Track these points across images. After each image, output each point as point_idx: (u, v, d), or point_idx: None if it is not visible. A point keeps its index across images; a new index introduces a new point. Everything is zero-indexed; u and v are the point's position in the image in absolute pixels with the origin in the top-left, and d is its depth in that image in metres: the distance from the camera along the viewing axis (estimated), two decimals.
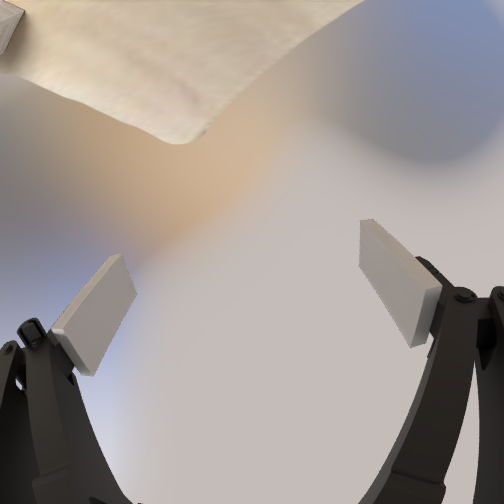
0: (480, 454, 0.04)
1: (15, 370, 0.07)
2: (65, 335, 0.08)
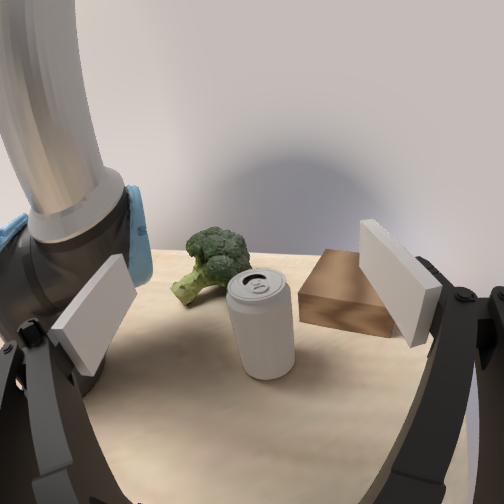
0: (480, 454, 0.04)
1: (15, 370, 0.07)
2: (65, 335, 0.08)
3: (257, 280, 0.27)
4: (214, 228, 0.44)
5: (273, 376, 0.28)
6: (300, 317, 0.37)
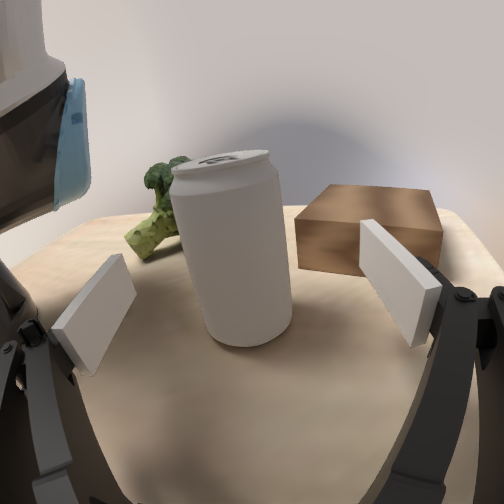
0: (480, 454, 0.04)
1: (15, 370, 0.07)
2: (65, 335, 0.08)
3: (222, 158, 0.15)
4: (181, 157, 0.32)
5: (255, 339, 0.17)
6: (299, 261, 0.26)
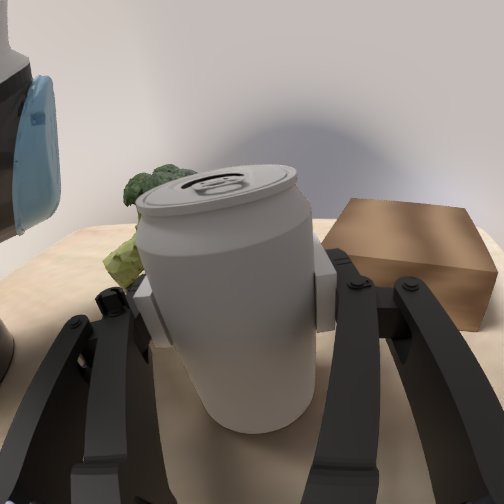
0: (424, 447, 0.05)
1: (79, 350, 0.08)
2: (151, 303, 0.10)
3: (219, 178, 0.10)
4: (167, 165, 0.26)
5: (267, 428, 0.11)
6: None
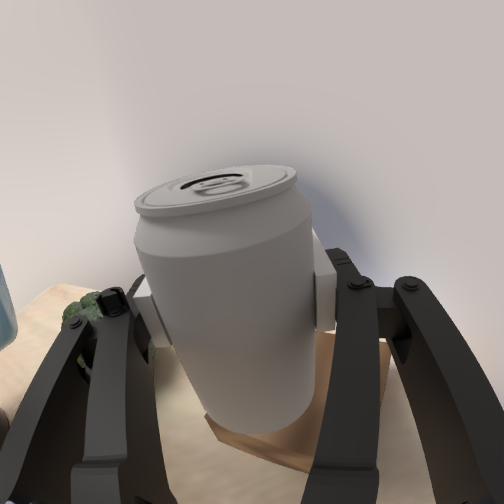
0: (424, 447, 0.05)
1: (79, 350, 0.08)
2: (151, 303, 0.10)
3: (219, 179, 0.10)
4: (92, 296, 0.27)
5: (266, 429, 0.11)
6: (217, 437, 0.21)
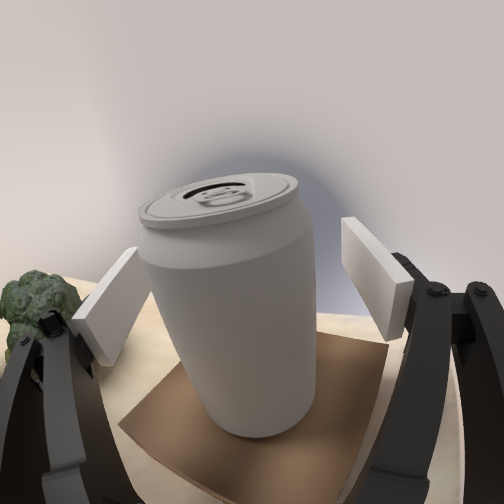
0: (466, 451, 0.04)
1: (31, 363, 0.07)
2: (87, 325, 0.09)
3: (221, 188, 0.10)
4: (28, 274, 0.21)
5: (268, 432, 0.11)
6: (146, 452, 0.15)
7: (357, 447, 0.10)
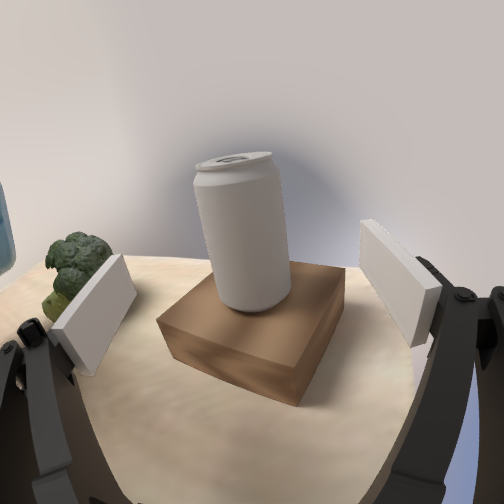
0: (480, 454, 0.04)
1: (15, 370, 0.07)
2: (65, 335, 0.08)
3: (235, 158, 0.20)
4: (74, 234, 0.30)
5: (260, 304, 0.21)
6: (171, 353, 0.25)
7: (319, 319, 0.20)
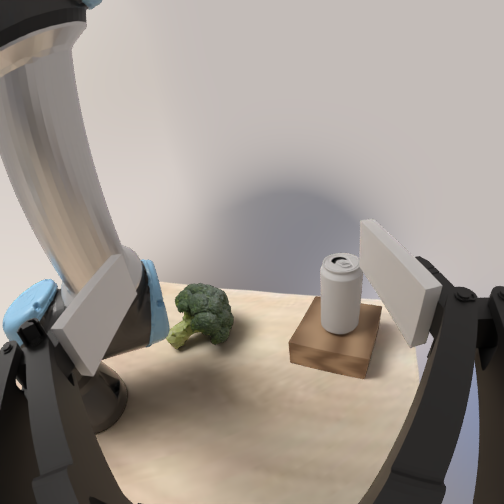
0: (480, 454, 0.04)
1: (15, 370, 0.07)
2: (65, 335, 0.08)
3: (341, 260, 0.39)
4: (199, 286, 0.49)
5: (347, 330, 0.40)
6: (290, 359, 0.44)
7: (374, 336, 0.39)
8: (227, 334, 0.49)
